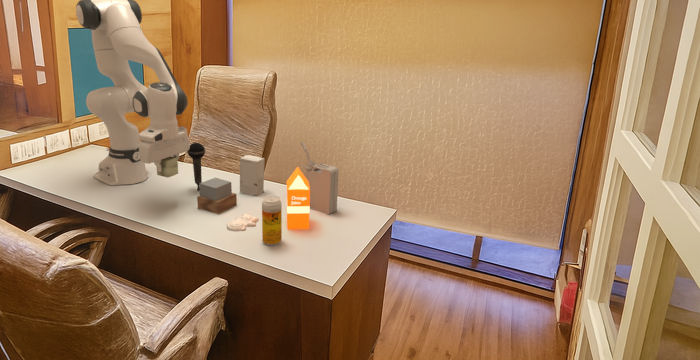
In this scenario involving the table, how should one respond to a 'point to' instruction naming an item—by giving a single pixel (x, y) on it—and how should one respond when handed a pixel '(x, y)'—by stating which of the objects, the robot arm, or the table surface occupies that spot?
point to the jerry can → (321, 185)
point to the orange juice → (298, 201)
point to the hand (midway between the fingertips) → (167, 168)
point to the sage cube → (169, 167)
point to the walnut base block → (217, 204)
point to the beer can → (271, 220)
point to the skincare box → (251, 175)
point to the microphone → (196, 161)
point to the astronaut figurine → (242, 223)
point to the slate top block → (215, 189)
